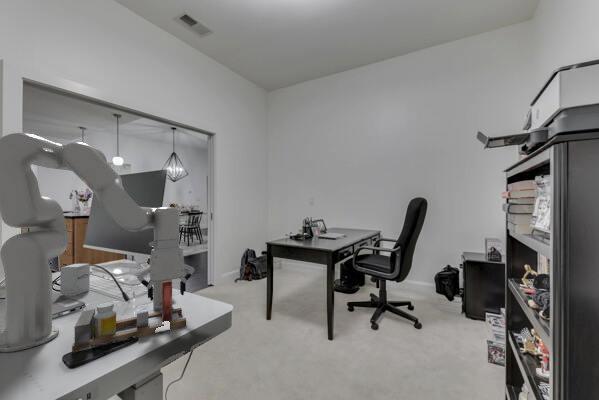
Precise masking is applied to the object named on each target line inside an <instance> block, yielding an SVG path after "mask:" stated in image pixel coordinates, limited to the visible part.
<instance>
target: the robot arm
mask: <svg viewBox="0 0 599 400" xmlns="http://www.w3.org/2000/svg"><path fill="white" fill-rule="evenodd" d="M32 166H38V167H42V168H46V169H54V170H60V171H61V170H63V171H70V172H73V173H74V174H75V175H76V176H77V177H78V178H79V179H80V180H81V181H82V182H83V183H84V184H85V185H86V187H88V188H89V189H90V190H91V191H92V192H93V193H94V195H95V198H96V199H97V201H98V202H99V204H100V205H101V207H102V208H103V209H104V211H105V212H106V213H107V215H109V217H111V218H112V219H113V221H114V222H116V223H117V224H118V225H119V226H120V227H121V228H123V229H124V230H126V231H129V232H133V233H136V232H141V231H144V230H149V229H153V241H150V242H148V247H153V249H151V252H150V258H149V267H148V268H146V269H144V270H143V271H142V272H140V273H138V274H137V276H136V278H137V280H138V281H139V282H140V283H141V284H142V285H143V286H144V287H145V288H147V299H150V302H153V284H154V283H155V282H156V281H164V280H171V279H172V280H176V279H180V283H179V289H180V290H179V291H180V295H182V296H184V295H185V292H186V291H187V290H186V288H187V287H186V285H187V284H186V283H187V282H188V280H190V278H191V277H192V275H193V273H194V272H195V271H196V270H195V267H193V266H190V265H188V264H186V263H185V260H184V259H185V258H184V251H183V247H182V246H180V211H179V209H178V208H177V207H174V206H173V207H172V206H171V207H170V206H169V207H167V206H166V207H165V206H164V207H148V206H147V207H146V206H140V205H138V203H136V202H135V200H134V199H132V197H130V195H129V193H127V191H125V188H124V186H123V179H122V177H121V176H120V175H119V173H118V172H116V170H115V169H113V168H112V166H111V165H109V164H108V161H107V157H106V155H105V154H104V152H102V151H101V150H100V149H99V148H96V147H93V146H92V145H89V144H87V143H84V142H80V141H78V142H77V141H76V142H75V141H74V142H69V143H67V144H62V143H56V142H54V141H51V140H48V139H46V138H44V137H41V136H38V135H35V134H31V133H26V132H13V133H9V134H6V135H4V136H2V137H0V216H1V217H0V218H1V219H2V221H3V223H4V224H5V225H7V226H8V227H11V228H15V229H17V228H19V229H24V228H28V230H29V231H26V232H21V233H18V234H15V235H13V236H11V237H9V238H8V239H6V241H5V242H4V243H3V244H2V246H1V248H0V259H1V264H2V266H3V272H4V273H3V274H4V298H5V299H4V301H5V302H4V306H5V307H4V314H5V315H4V329H1V330H0V353H12V352H18V351H23V350H26V349H31V348H33V347H34V348H35V347H37V346H40V345H43V344H45V343H47V342H49V341H51V340H53V339H54V338H56V337H57V336H58V335H59V333H60V328H58V327H57V326H53V273H52V268H51V265H50V263H49V260H52V259H54V258H57V257H59V256H61V255H62V254H63V253H64V252H65V251H66V250H67V248H68V246H69V234H68V230H67V224H66V219H65V214H64V210H63V207H62V206H61V205H60V203H59V202H58V201H57V200H55V199H53V198H51V197H47V196H42V195H41V192H40V188H39V182H38V178H37V176H36V175H35V172H33V169H32ZM185 270H188V272H187V273H186V274H185ZM148 274H149V281H148V280H146V279H145V278H144V277H145V276H147V275H148Z"/></svg>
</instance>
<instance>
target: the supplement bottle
mask: <svg viewBox="0 0 599 400" xmlns="http://www.w3.org/2000/svg"><path fill="white" fill-rule="evenodd" d="M114 307H115V306H114V302H110V301H109V302H105V303H101V304H98V305H97V306H96V312H95V315H94V332H93V338H98V337H102V336H107V335H111V334H116V333H117V330H116V321H117V311H116V309H114Z"/></svg>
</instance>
